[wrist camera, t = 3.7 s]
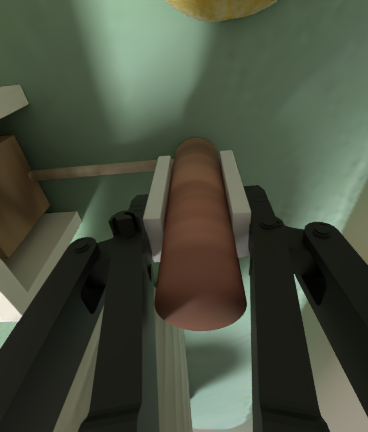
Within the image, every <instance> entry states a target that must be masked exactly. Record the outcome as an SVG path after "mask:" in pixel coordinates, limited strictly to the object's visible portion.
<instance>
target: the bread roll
mask: <svg viewBox="0 0 368 432" xmlns="http://www.w3.org/2000/svg"><path fill="white" fill-rule="evenodd" d="M165 1H166V2H167V3H169V4H170V5H171V6H172V7H173V8H175V9H176V10H178V11H180V12H181V13H184V14H186V15H187V16H189V17H192V18H195V19H197V20H200V21H206V22H221V21H225V20H229V19H237V18H243V17H246V16H249V15H253V14H255V13H257V12H260V11H262V10H264V9H266V8H267V7H269V6H271V5H272V4H274V3H275V2H277V1H278V0H165Z"/></svg>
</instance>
